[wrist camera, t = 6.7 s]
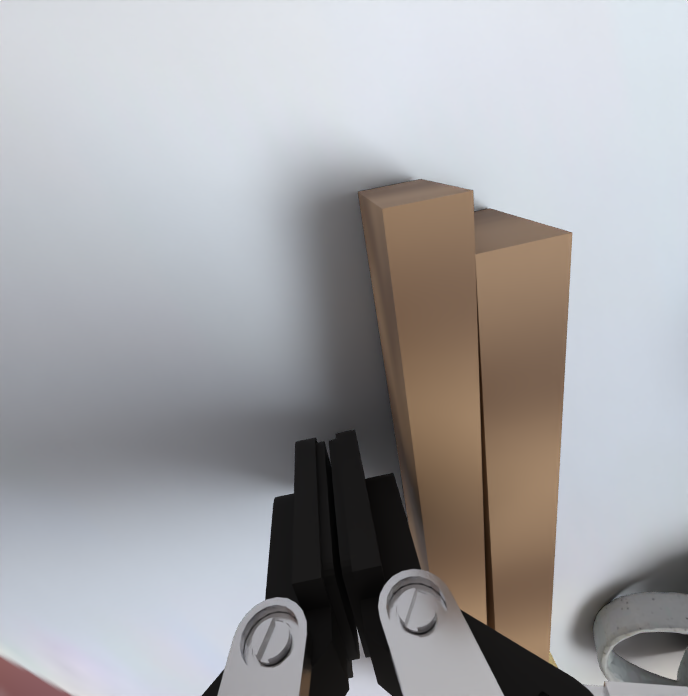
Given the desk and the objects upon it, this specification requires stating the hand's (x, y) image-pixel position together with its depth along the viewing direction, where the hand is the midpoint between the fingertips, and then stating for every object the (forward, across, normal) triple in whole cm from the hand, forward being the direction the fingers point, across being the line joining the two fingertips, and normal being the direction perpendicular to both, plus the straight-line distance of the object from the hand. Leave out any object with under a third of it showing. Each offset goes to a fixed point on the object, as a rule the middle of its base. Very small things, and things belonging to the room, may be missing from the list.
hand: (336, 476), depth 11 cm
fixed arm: (+1, -4, +3) cm, 5 cm away
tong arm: (+1, -3, +1) cm, 3 cm away
